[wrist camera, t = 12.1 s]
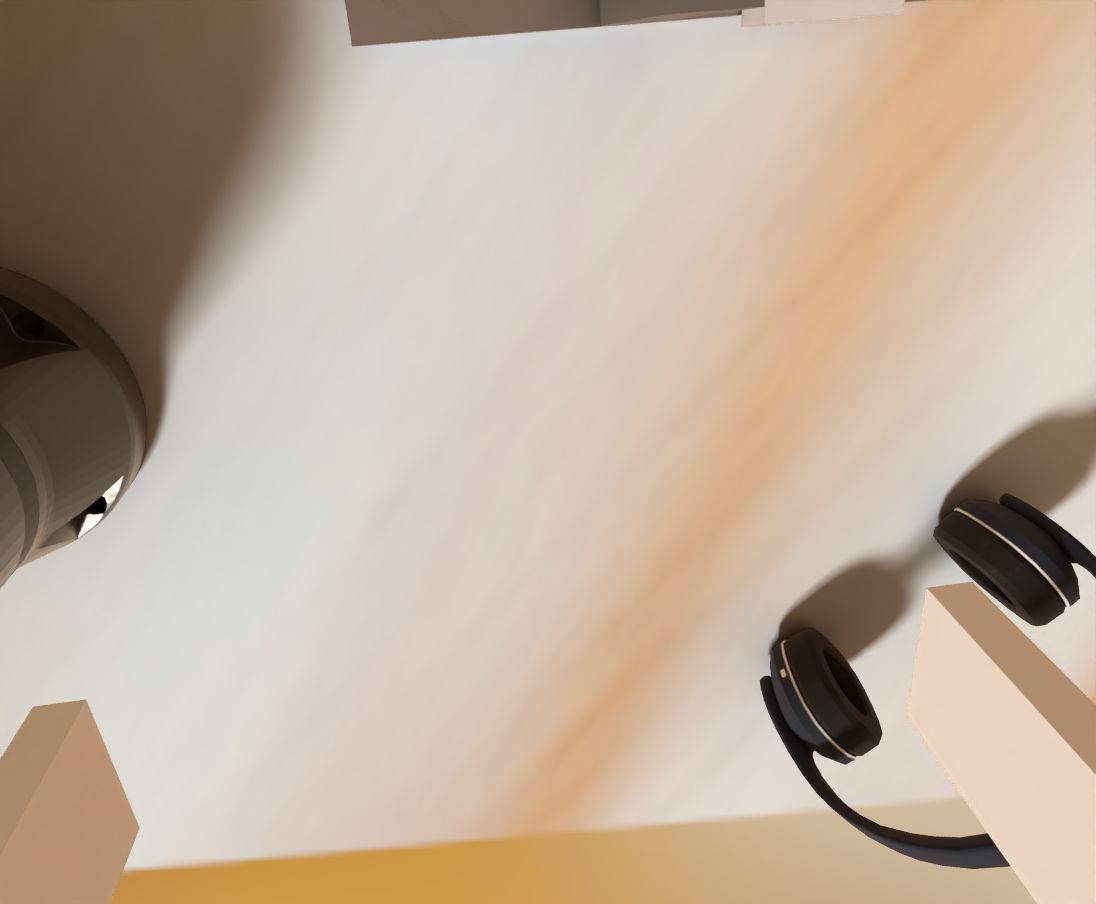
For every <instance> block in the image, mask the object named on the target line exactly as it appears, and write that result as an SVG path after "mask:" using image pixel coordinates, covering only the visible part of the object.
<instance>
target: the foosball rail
mask: <svg viewBox="0 0 1096 904" xmlns="http://www.w3.org/2000/svg"><path fill="white" fill-rule="evenodd" d="M913 1H926V0H904V2H913ZM345 4H346V10H347V16H348V22H349V29H350V35H351V41H352V46H366V45H378V44H391V43H403V42H416V41H428V40H441V39H453V38H465V37H478V36H490V35H503V34H515V33H528V32H540V31H553V30H565V29H577V28H590V27H602V26H601V18H600V0H345ZM739 15H742V10H738V11H731V12H724V13H717V14H710V15H703V16H697V17H690V18H683V19H676V20H669V21H677V20H689V19H702V18H714V17H727V16H739ZM656 22H664V21H656ZM644 23H652V22H644ZM631 24H640V23H631ZM619 25H627V24H619ZM606 26H615V25H606Z"/></svg>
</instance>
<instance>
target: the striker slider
mask: <svg viewBox="0 0 1096 904" xmlns="http://www.w3.org/2000/svg"><path fill="white" fill-rule="evenodd" d="M903 9H904V0H600V18H601V26H606V25H619V24H631V23H644V22H656V21H669V20H676V19H683V18H690V17H697V16H703V15H710V14H717V13H724V12H731V11H738V10H742V24H741V27H753V26H765V25H777V24H789V23H802V22H814V21H826V20H839V19H851V18H863V17H875V16H887V15H899V14H903Z"/></svg>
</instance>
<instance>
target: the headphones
mask: <svg viewBox="0 0 1096 904" xmlns="http://www.w3.org/2000/svg"><path fill="white" fill-rule="evenodd" d="M1000 504H1001V505H1000ZM1000 504H996V503H992V502H989V501H981V500H965V501H963V502H962V503H960V504H959V505H958V506H957V507H956V508H955V509H954V512H953V513H950V514H948V515H947V516H946V517H945V518H944V519H943V520H942V521H941V523H940V524H939V525H938V526H937V527H936V528H935V531H934V535H933V536H934V537H935V539H936V540H937V542H938V543H939V544H940V545H941V547H942V548H943V549H944V550H945V551H946V553H947V554H948V555H949V556H950V557H951V558H952V559H953V560H954V561H955V562H956V563H957V564H958V565H959V567H960V568H961V569H962V570H963V571H964V572H965V573H967V574H968V575H969V576H970V577H971V578H972V579H973V580H974V581H975V582H976V583H977V584H978V585H980V586H981V587H982V588H983V589H984V590H986V591H987V592H988V593H989V594H990V595H992V596H993V597H994V598H995V599H997V600H998V601H999V602H1001V603H1002V604H1003V605H1004V606H1006V607H1007V608H1008V609H1010V610H1011V611H1012V612H1014V613H1015V614H1016V615H1018V616H1019V617H1020V618H1022V619H1023V620H1025V621H1026V622H1028V623H1029V624H1031V625H1033V626H1041V625H1046V624H1048V623H1049V622H1051V621H1052V620H1053V619H1055V618H1056V617H1058V616H1059V615H1061V614H1062V613H1063V612H1064V609H1065V607H1070V606H1071V605H1073V604H1074V603H1075V602H1076V601H1077V600H1079V599H1080V595H1079V586H1078V578H1077V576H1076V573H1075V571H1074V569H1073V566H1072V564H1071V563H1078V564H1079V565H1081V566H1082V567H1084V568H1085V569H1087V570H1088V571H1089V572H1090V573H1091V574H1092V575H1093V576H1094V577H1095V578H1096V557H1095V556H1094V555H1093V554H1092V553H1091V552H1090V551H1089V550H1088V549H1087V548H1086V547H1085V546H1084V545H1083V544H1082V543H1081V542H1079V541H1078V540H1077V539H1076V538H1075V537H1073V536H1072V535H1071V534H1070V533H1069V532H1067V531H1066V530H1065V529H1063V528H1062V527H1061V526H1059V525H1058V524H1057V523H1055V522H1054V521H1053V520H1051V519H1050V518H1048V517H1047V516H1046V515H1044V514H1043V513H1041V512H1040V511H1038V510H1037V509H1035V508H1033V507H1032V506H1030V505H1029V504H1027V503H1025V502H1023V501H1022V500H1020V499H1018V498H1016V497H1014V496H1012V495H1009V494H1007V493H1006V494H1004V495H1003V496H1002V497H1001V498H1000ZM770 670H771V677H770V676H764V677H762V678H761V680H760V685H761V691H762V694H763V698H764V701H765V704H766V707H767V710H768V713H769V715H770V717H771V719H772V721H773V724H774V726H775V728H776V730H777V732H778V734H779V735H780V737H781V739H782V741H783V743H784V745H785V747H786V748H787V750H788V752H789V754H790V755H791V757H792V759H793V760H794V762H795V763H796V765H797V767H798V768H799V770H800V771H801V773H802V774H803V776H804V777H805V778H806V780H807V781H808V782H809V784H810V785H811V786H812V788H813V789H814V790H815V791H816V793H817V794H818V795H819V796H820V797H821V798H822V799H823V800H824V801H825V802H826V803H827V804H828V805H829V806H830V807H831V808H832V809H833V810H835V811H836V812H837V813H838V814H839V815H841V816H842V817H843V818H844V819H845V820H847V821H848V822H849V823H850V824H852V825H853V826H854V827H856V828H857V829H858V830H860V831H861V832H863V833H864V834H865V835H867V836H868V837H870V838H872V839H874V840H876V841H877V842H879V843H881V844H883V845H885V846H887V847H889V848H891V849H893V850H895V851H897V852H899V853H901V854H904V855H906V856H909V857H912V858H914V859H917V860H920V861H924V862H929V863H933V864H938V865H942V866H951V867H960V868H969V869H978V868H993V867H1008V866H1010V864H1009V863H1008V862H1007V860H1006V859H1005V857H1004V856H1003V854H1002V853H1001V852H1000V850H999V849H998V847H997V846H996V844H995V843H994V842H993V840H992V839H991V837H990V836H989V834H988V833H987V834H981V835H974V836H967V837H960V838H958V837H934V836H927V835H919V834H912V833H908V832H904V831H900V830H896V829H893V828H889V827H885V826H880V825H879V824H877V823H875V822H873V821H871V820H869V819H867V818H865V817H863V816H861V815H859V814H858V813H857V812H855V811H854V810H852V809H851V808H850V807H848V806H847V805H846V804H845V803H844V802H843V801H842V800H841V799H840V798H839V797H838V796H837V795H836V794H835V793H834V791H833V790H832V789H831V787H830V786H829V785H828V784H827V782H826V781H825V780H824V778H823V777H822V775H821V773H820V771H819V770H818V768H817V766H816V764H815V762H814V759H813V752H814V750H815V751H816V752H817V753H819V754H820V755H822V756H824V757H827V758H829V759H832V760H834V761H837V762H839V763H842V764H844V765H846V764H848V763H850V762H851V761H853V760H855V758H856V756H862V755H864V754H865V753H867V752H868V751H870V750H871V749H873V748H874V747H876V746H877V745H878V744H879V742H880V739H881V736H882V730H881V727H880V723H879V720H878V718H877V716H876V713H875V711H874V709H873V706H872V704H871V702H870V700H869V698H868V696H867V694H866V692H865V690H864V688H863V686H862V684H861V683H860V681H859V679H858V677H857V675H856V674H855V672H854V671H853V669H852V668H851V666H850V665H849V663H848V662H847V661H846V659H845V658H844V657H843V656H842V655H841V653H840V652H839V651H838V650H837V649H836V648H835V647H834V646H833V645H832V644H831V643H830V642H829V641H828V640H827V639H826V638H825V637H824V636H823V635H822V634H821V633H819V632H818V631H816V630H815V629H811V628H806V629H804V630H802V631H800V632H798V633H796V634H794V635H792V636H790V637H789V638H788V639H787V640H784V641H782V642H780V643H779V644H777V645H776V646H775V647H774V648H773V649H772V653H771V661H770Z"/></svg>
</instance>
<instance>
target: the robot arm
mask: <svg viewBox="0 0 1096 904" xmlns="http://www.w3.org/2000/svg"><path fill="white" fill-rule="evenodd" d="M146 435H147V425H146V414H145V408H144V403H143V399H142V395H141V392H140V389H139V386H138V384H137V381H136V379H135V377H134V374H133V372H132V370H131V369H130V367H129V365H128V363H127V361H126V360H125V358H124V356H123V355H122V353H121V352H120V350H119V349H118V348H117V346H116V345H115V344H114V342H113V341H112V340H111V339H110V337H109V336H108V335H107V334H106V333H105V332H104V331H103V330H102V328H101V327H100V326H99V325H98V324H97V323H96V322H95V321H94V320H92V319H91V318H90V317H89V316H88V315H87V314H86V313H85V312H83V311H82V310H81V309H80V308H79V307H77V306H76V305H74V304H73V303H72V302H70V301H69V300H68V299H66V298H65V297H63V296H61V295H60V294H58V293H57V292H55V291H53V290H52V289H50V288H48V287H46V286H44V285H42V284H40V283H38V282H36V281H34V280H32V279H30V278H27V277H25V276H22V275H20V274H17V273H14V272H12V271H9V270H6V269H2V268H0V589H1V588H2V586H3V585H4V584H5V583H6V581H7V580H8V579H9V577H10V576H11V575H12V574H13V572H14V571H15V570H16V569H17V568H19V567H21V566H23V565H25V564H27V563H30V562H32V561H34V560H36V559H38V558H40V557H42V556H44V555H46V554H48V553H51V552H53V551H55V550H57V549H59V548H61V547H63V546H65V545H67V544H69V543H71V542H73V541H75V540H77V539H79V538H80V537H82V536H83V535H85V534H86V533H88V532H89V531H90V530H92V529H93V528H94V527H96V526H97V525H98V524H99V523H100V522H101V521H102V520H103V519H104V518H106V517H107V515H108V514H109V513H110V512H111V511H112V510H113V509H114V507H115V506H116V504H117V503H118V502H119V500H120V499H121V498H122V496H123V495H124V493H125V492H126V491H127V489H128V488H129V487H130V485H131V483H132V482H133V480H134V478H135V476H136V474H137V472H138V470H139V468H140V465H141V462H142V459H143V455H144V451H145V445H146ZM907 719H908V720H909V721H910V723H911V724H912V726H913V727H914V729H915V730H916V731H917V733H918V734H919V736H920V737H921V739H922V740H923V741H924V743H925V744H926V746H927V747H928V749H929V750H930V751H931V753H932V754H933V756H934V757H935V759H936V760H937V761H938V763H939V764H940V766H941V767H942V769H943V770H944V771H945V773H946V774H947V776H948V777H949V779H950V780H951V781H952V783H953V784H954V786H955V787H956V789H957V790H958V791H959V793H960V794H961V796H962V797H963V799H964V800H965V801H966V803H967V804H968V806H969V807H970V809H971V810H972V812H973V813H974V814H975V816H976V817H977V819H978V820H979V822H980V823H981V824H982V826H983V827H984V829H985V830H986V832H987V833H988V834H989V836H990V837H991V839H992V840H993V842H994V843H995V844H996V846H997V847H998V849H999V850H1000V852H1001V853H1002V854H1003V856H1004V857H1005V859H1006V860H1007V862H1008V863H1009V864H1010V866H1011V867H1012V869H1013V870H1014V872H1015V873H1016V874H1017V876H1018V877H1019V879H1020V880H1021V882H1022V883H1023V884H1024V886H1025V887H1026V889H1027V890H1028V892H1029V893H1030V894H1031V896H1032V897H1033V899H1034V900H1035V902H1036V903H1037V904H1096V705H1095V704H1094V703H1093V702H1092V701H1091V700H1090V699H1089V698H1088V697H1087V696H1086V695H1085V694H1084V693H1083V692H1082V691H1081V690H1080V689H1079V688H1078V687H1077V686H1076V685H1075V684H1074V683H1073V682H1072V681H1071V680H1070V679H1069V678H1068V677H1067V676H1066V675H1065V674H1064V673H1063V672H1062V671H1061V670H1060V669H1059V668H1058V667H1057V666H1056V665H1055V664H1054V663H1053V662H1052V661H1051V660H1050V659H1049V658H1048V657H1047V656H1046V655H1045V654H1044V653H1043V652H1042V651H1041V650H1040V649H1039V648H1038V647H1037V646H1036V645H1035V644H1034V643H1033V642H1032V641H1031V640H1030V639H1029V638H1028V637H1027V636H1026V635H1025V634H1024V633H1023V632H1022V631H1021V630H1020V629H1019V628H1018V627H1017V626H1016V625H1015V624H1014V623H1013V622H1012V621H1011V620H1010V619H1009V618H1008V617H1007V616H1006V615H1005V614H1004V613H1003V612H1002V611H1001V610H1000V609H999V608H998V607H997V606H996V605H995V604H994V603H993V602H992V601H991V600H990V599H989V598H988V597H987V596H986V595H985V594H984V593H983V592H982V591H981V590H980V589H979V588H978V587H977V586H976V585H975V584H974V583H973V582H968V583H961V584H953V585H946V586H938V587H931V588H927V589H926V596H925V602H924V609H923V615H922V621H921V628H920V634H919V641H918V647H917V654H916V660H915V666H914V673H913V679H912V686H911V692H910V699H909V705H908V711H907ZM138 830H139V825H138V823H137V821H136V818H135V816H134V813H133V811H132V809H131V806H130V804H129V801H128V799H127V797H126V794H125V792H124V789H123V787H122V785H121V782H120V780H119V777H118V775H117V773H116V770H115V768H114V765H113V763H112V761H111V758H110V756H109V753H108V751H107V749H106V746H105V744H104V742H103V739H102V737H101V734H100V732H99V730H98V727H97V725H96V722H95V720H94V718H93V715H92V713H91V710H90V708H89V706H88V703H87V701H86V700H80V701H73V702H65V703H58V704H50V705H43V706H35V707H33V708H32V709H31V711H30V713H29V714H28V716H27V717H26V719H25V721H24V722H23V724H22V725H21V727H20V729H19V730H18V732H17V733H16V735H15V737H14V738H13V740H12V741H11V743H10V745H9V746H8V748H7V749H6V751H5V753H4V754H3V756H2V757H1V759H0V904H110V902H111V900H112V897H113V895H114V892H115V889H116V887H117V884H118V882H119V879H120V877H121V874H122V871H123V869H124V866H125V864H126V861H127V859H128V856H129V854H130V851H131V848H132V846H133V843H134V841H135V838H136V836H137V833H138Z"/></svg>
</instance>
